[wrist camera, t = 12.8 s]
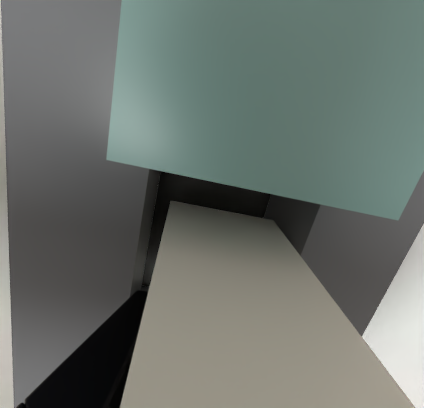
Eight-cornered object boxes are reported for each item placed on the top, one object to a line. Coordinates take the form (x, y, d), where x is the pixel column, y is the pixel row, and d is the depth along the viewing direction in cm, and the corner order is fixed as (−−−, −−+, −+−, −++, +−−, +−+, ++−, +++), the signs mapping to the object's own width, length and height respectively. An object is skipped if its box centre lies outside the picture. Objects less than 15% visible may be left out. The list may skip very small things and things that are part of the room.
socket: (278, 354, 15) (307, 435, 11) (64, 330, 13) (14, 416, 9) (430, -6, 9) (592, -86, 6) (90, -130, 8) (-11, -370, 4)
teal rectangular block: (344, 192, 7) (398, 220, 5) (131, 145, 6) (106, 159, 4) (483, -138, 5) (657, -286, 3) (185, -278, 4) (178, -602, 2)
